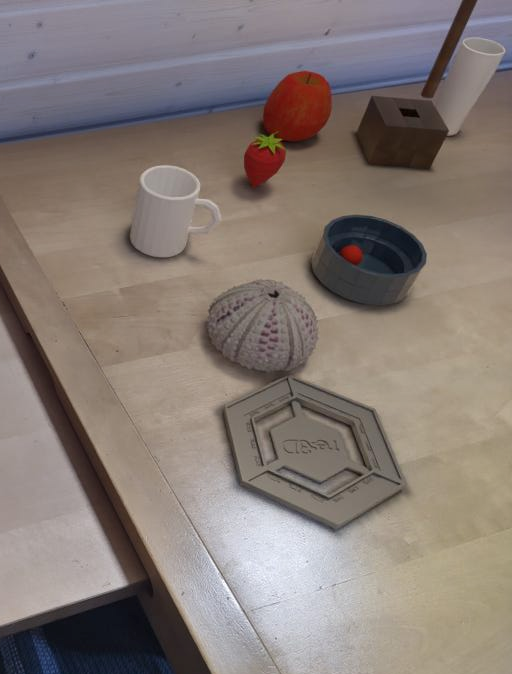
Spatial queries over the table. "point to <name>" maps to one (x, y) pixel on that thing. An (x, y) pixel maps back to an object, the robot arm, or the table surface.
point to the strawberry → (263, 159)
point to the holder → (401, 132)
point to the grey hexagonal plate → (312, 451)
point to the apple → (298, 106)
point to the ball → (351, 254)
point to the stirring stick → (448, 47)
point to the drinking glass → (467, 80)
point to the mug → (168, 211)
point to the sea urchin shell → (263, 326)
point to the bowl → (369, 259)
